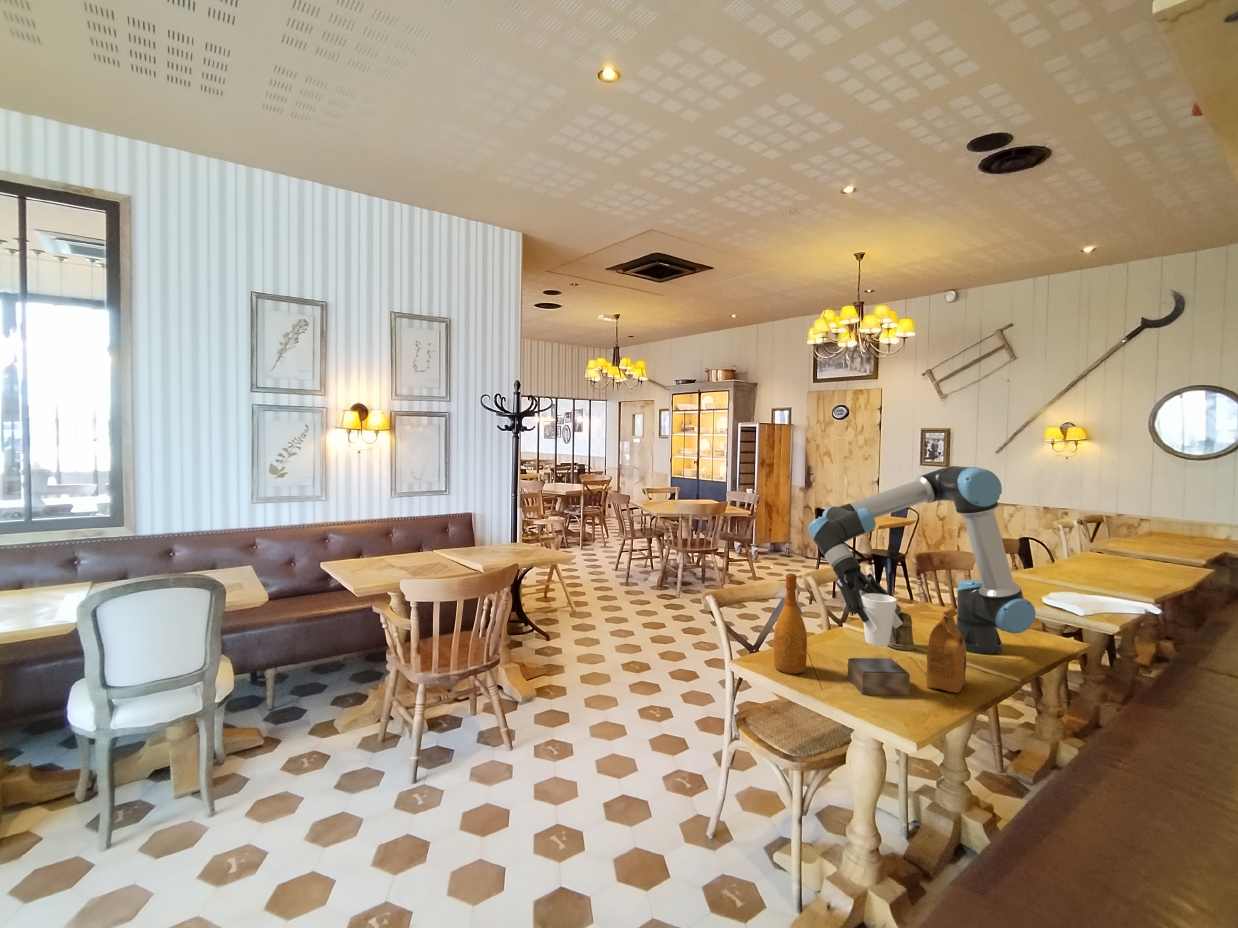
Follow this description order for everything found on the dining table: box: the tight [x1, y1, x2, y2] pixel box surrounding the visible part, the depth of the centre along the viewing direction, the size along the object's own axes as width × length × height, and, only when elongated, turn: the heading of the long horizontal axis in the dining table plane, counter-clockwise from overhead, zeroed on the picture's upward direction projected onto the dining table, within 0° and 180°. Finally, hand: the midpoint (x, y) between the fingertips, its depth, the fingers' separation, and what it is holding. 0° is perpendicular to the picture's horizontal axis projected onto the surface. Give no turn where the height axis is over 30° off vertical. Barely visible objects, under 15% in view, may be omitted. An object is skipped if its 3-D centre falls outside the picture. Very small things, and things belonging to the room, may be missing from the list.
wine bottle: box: [773, 572, 808, 675], centre depth 179 cm, size 10×10×30 cm
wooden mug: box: [887, 603, 915, 652], centre depth 198 cm, size 9×14×18 cm, turn 126°
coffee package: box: [925, 607, 967, 693], centre depth 167 cm, size 10×12×22 cm
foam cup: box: [860, 592, 897, 647], centre depth 166 cm, size 10×9×13 cm
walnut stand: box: [847, 657, 911, 696], centre depth 167 cm, size 13×11×6 cm
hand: (887, 628), depth 163 cm, fingers closed on foam cup, 9 cm apart
